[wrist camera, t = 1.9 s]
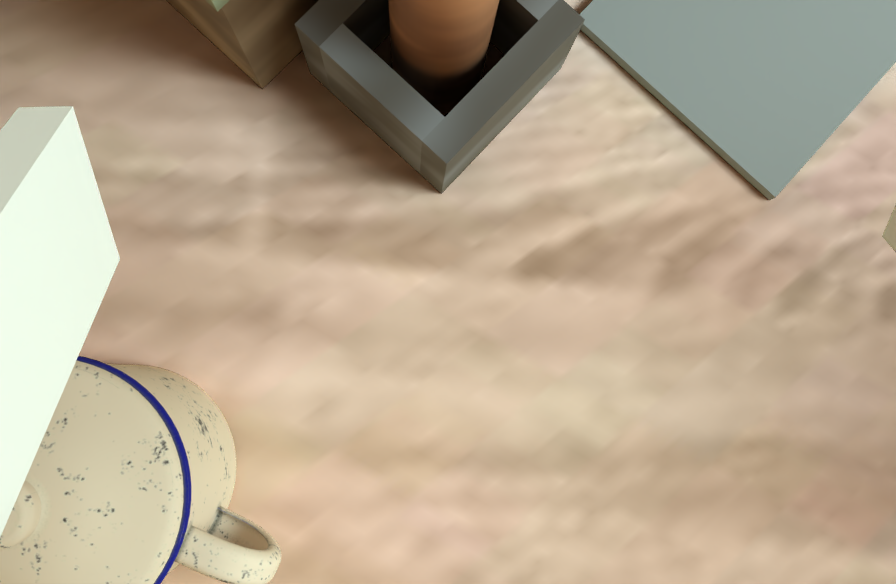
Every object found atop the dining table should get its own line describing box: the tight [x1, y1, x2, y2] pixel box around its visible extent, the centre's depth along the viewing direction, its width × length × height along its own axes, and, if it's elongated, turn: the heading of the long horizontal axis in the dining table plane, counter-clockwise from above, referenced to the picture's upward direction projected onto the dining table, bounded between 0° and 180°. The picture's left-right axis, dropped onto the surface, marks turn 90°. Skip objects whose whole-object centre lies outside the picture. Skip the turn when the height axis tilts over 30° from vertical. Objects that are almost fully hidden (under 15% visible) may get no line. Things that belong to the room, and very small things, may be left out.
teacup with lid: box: [0, 356, 281, 584], centre depth 28 cm, size 12×9×12 cm
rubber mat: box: [579, 0, 896, 200], centre depth 37 cm, size 12×12×1 cm
